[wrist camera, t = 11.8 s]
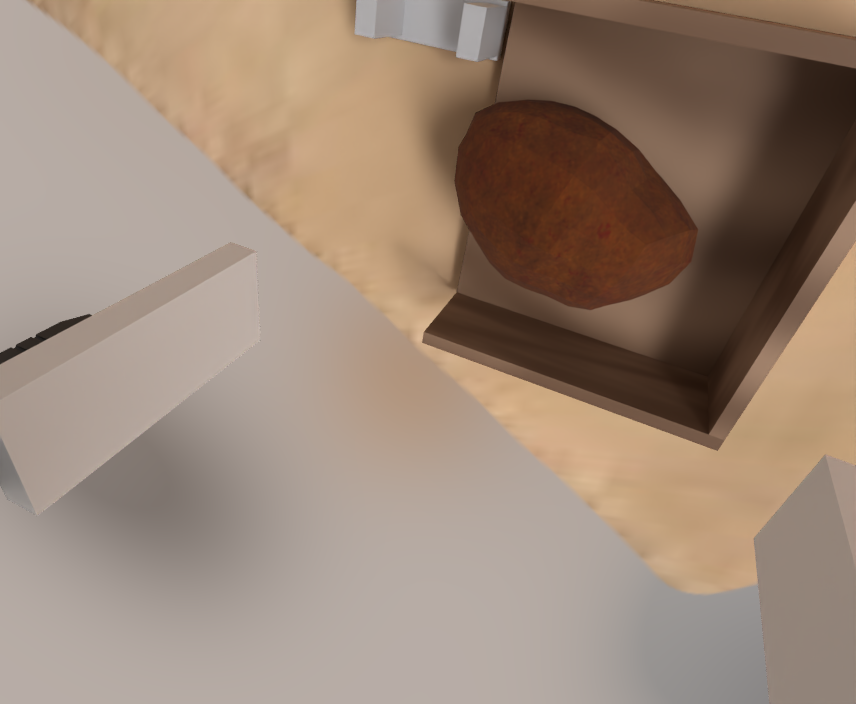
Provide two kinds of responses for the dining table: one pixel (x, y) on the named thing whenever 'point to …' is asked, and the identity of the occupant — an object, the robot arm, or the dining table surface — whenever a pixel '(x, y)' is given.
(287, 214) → the dining table surface
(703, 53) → the holder
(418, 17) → the clip
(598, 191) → the potato
